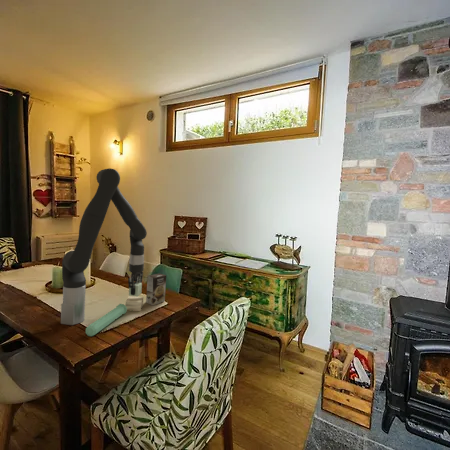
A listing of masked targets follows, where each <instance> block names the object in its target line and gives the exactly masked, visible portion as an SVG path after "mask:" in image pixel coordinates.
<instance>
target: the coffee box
mask: <svg viewBox="0 0 450 450" xmlns="http://www.w3.org/2000/svg"><path fill="white" fill-rule="evenodd" d="M146 284H147V285H146V297H145V298H146V299H145V303H146V304H149V305H151V306H155V305H158V304H161V302H162V303H165V302H166V301H165V300H166V285H167V275H166V274H163V273H154V274H149V275H147V283H146Z"/></svg>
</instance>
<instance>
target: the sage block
mask: <svg viewBox="0 0 450 450" xmlns="http://www.w3.org/2000/svg"><path fill="white" fill-rule="evenodd" d="M142 289H143V282H142V283H138V282H137V284H136V287H135V295H131V288H129V287H128V297H140V295H142V291H143V290H142Z"/></svg>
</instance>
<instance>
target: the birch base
mask: <svg viewBox="0 0 450 450" xmlns="http://www.w3.org/2000/svg"><path fill="white" fill-rule="evenodd" d="M124 303H125V304H124V305H125V306H126V307H127V310H130V311H131V310H133V311H131V312H141V311H142V309H141V308H143V307H144V296H138V297H137V296H128V297H127V298H126V301H125V302H124ZM130 311H129V312H130Z"/></svg>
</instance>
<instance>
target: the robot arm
mask: <svg viewBox="0 0 450 450" xmlns="http://www.w3.org/2000/svg"><path fill="white" fill-rule="evenodd" d="M96 181H97V183H98V185H97V186H98V187H97V189H96V192H95V194H94V196H93V197H92V198H91V200H90V201H89V203H88V204H87V206H86V208H85V209H84V212H83V214H82V216H81V219H80V223H79V229H78V239H77V242H76V245H75V248H74V250H69V251H68V252H66V253H65V254H64V256H63V257H62V261H61V278H62V283H63V284H62V303H61V304H60V305H61V306H60V324H61V325H67V326H75V325H77V324H81V323H82V322H84V321H85V310H86V287H87V286H86V283H87V279H86V276H85V272H84V271H85V270H86V269H87V268H88V266H89V265H90V264H89V263H90V261H91V258H92V254H93V253H92V252H93V249H94V246H95V244H96V241H97V238H98V236H99V234H100V230H101V228H102V226H103V224H104V221H105V218H106V215H107V214H108V209H109V207H110V204H111V202H112V203H113V205H114V207H115V208H116V210H117V212H118V213H119V216H120V217H121V219H122V220H123V223H124V224H125V225H126V226H127V227H128V228H129V241H130V242H129V243H130V254H129V259H128V261H129V262H128V263H129V265H128V267H129V268H128V271H129V272H130V273H131V276H130V277H128V279H127V282H128V289H129V288H131V295H135V287H136V284H137V282H138V283H142V284H143V278H144V277H143V276H144V270H145V269H144V267H145V265H144V264H145V245H144V243H143V240H144V239H145V238H146V237H147V236H148V235H147V229H146V227H145V226H144V225H143V223H142V222H141V220H140V219H139V218H138V215H137V213H136V212H135V210H134V208H133V206H132V205H131V204H130V202H129V201H128V200H127V199H126V197H125V196H124V195H123V193H122V191H121V190H120V188H119V185H120V182H121V175H120V173H119V171H118V170H117V169H115V168H110V167H109V168H104V169H101V170H99V171H98V172H97V174H96Z"/></svg>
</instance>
